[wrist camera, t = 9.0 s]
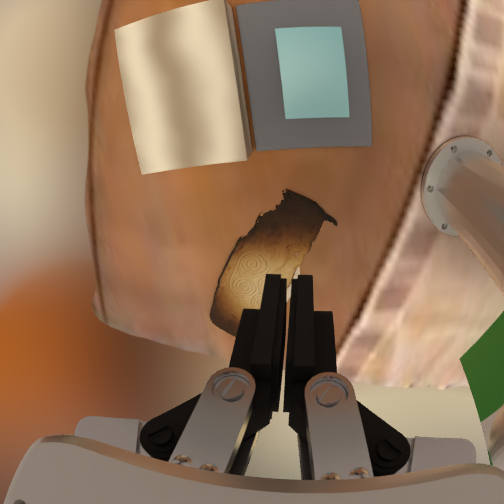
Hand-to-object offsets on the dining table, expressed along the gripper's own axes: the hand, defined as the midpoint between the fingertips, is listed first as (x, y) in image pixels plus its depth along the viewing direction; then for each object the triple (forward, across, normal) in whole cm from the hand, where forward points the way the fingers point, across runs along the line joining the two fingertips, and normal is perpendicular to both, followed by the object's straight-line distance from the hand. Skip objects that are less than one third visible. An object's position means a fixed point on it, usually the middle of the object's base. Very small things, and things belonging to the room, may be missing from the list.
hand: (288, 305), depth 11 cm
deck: (+22, +10, -8) cm, 26 cm away
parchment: (+23, +4, +16) cm, 28 cm away
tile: (+20, -2, -9) cm, 22 cm away
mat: (+22, -2, -9) cm, 24 cm away
